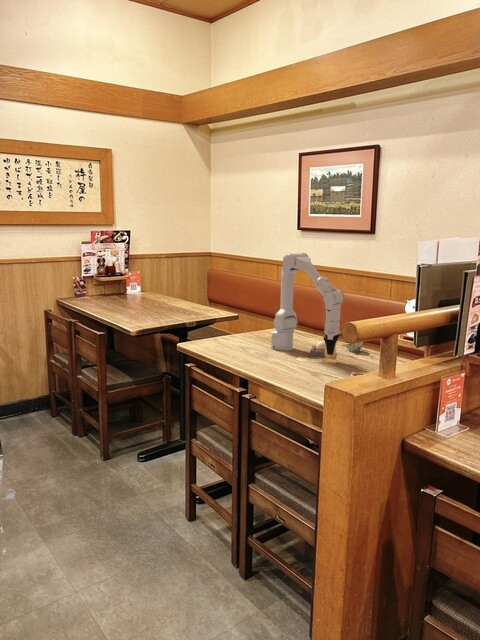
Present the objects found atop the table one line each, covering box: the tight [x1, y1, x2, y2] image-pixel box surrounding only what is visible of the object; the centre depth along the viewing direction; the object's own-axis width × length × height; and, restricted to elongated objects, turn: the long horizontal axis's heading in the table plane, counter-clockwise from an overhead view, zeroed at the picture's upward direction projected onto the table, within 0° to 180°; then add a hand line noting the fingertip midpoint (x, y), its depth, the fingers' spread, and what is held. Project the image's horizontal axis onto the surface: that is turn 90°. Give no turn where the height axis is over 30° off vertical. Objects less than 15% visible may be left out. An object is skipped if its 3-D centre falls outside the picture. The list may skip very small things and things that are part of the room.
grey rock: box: [342, 341, 366, 353], centre depth 224 cm, size 9×8×10 cm
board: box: [296, 356, 337, 365], centre depth 212 cm, size 17×22×1 cm
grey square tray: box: [309, 345, 326, 358], centre depth 217 cm, size 9×9×2 cm
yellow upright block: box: [324, 343, 337, 359], centre depth 204 cm, size 4×4×6 cm
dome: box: [315, 340, 325, 351], centre depth 216 cm, size 6×6×5 cm
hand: (330, 353), depth 205 cm, fingers closed on yellow upright block, 4 cm apart
